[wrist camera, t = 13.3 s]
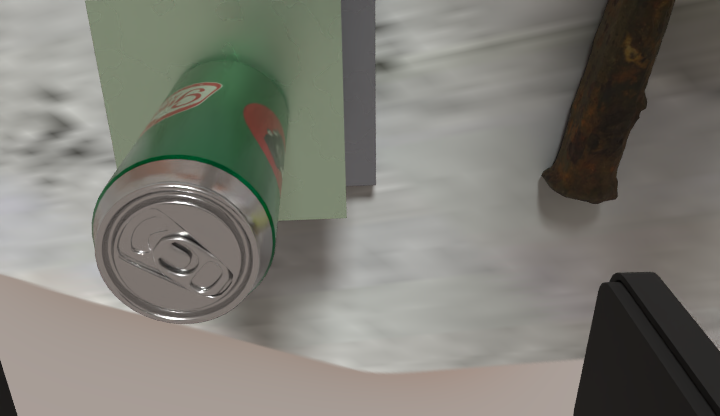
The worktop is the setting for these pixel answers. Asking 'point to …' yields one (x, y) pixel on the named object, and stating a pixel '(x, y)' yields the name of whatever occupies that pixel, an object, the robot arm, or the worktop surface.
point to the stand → (271, 57)
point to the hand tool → (609, 99)
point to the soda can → (196, 198)
